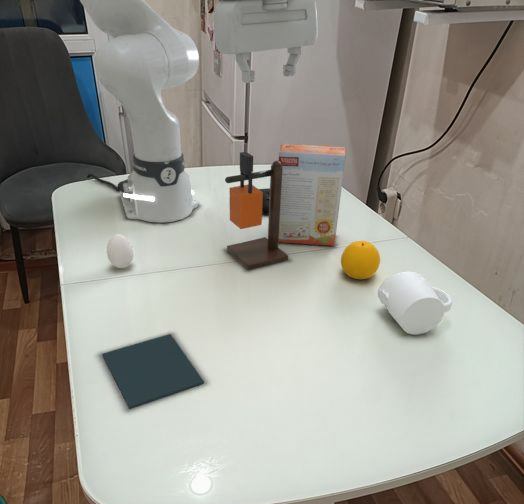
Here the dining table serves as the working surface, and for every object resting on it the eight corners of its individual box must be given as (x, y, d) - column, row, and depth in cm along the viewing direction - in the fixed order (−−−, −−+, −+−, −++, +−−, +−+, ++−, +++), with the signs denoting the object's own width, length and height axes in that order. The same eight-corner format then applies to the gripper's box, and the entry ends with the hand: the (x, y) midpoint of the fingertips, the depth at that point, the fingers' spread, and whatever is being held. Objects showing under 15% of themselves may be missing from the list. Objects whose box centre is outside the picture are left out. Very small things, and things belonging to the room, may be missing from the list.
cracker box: (334, 235, 122) (345, 145, 109) (334, 247, 118) (346, 154, 105) (276, 231, 123) (280, 141, 110) (274, 242, 118) (278, 150, 105)
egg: (111, 275, 105) (106, 242, 100) (107, 263, 108) (102, 231, 104) (137, 271, 106) (133, 238, 102) (132, 259, 110) (128, 227, 105)
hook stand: (216, 253, 114) (213, 161, 101) (266, 241, 119) (269, 152, 106) (237, 273, 107) (237, 177, 94) (288, 260, 112) (295, 167, 100)
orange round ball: (384, 275, 108) (390, 243, 104) (363, 288, 104) (369, 255, 99) (353, 261, 112) (358, 230, 108) (331, 274, 108) (336, 242, 103)
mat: (102, 355, 84) (102, 353, 84) (170, 335, 89) (170, 333, 89) (129, 408, 75) (129, 406, 75) (204, 383, 80) (204, 381, 80)
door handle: (341, 208, 129) (322, 181, 141) (265, 213, 126) (251, 185, 137) (339, 220, 132) (320, 193, 143) (264, 225, 128) (251, 197, 139)
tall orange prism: (229, 220, 108) (229, 152, 99) (250, 215, 110) (251, 148, 101) (240, 229, 104) (241, 160, 96) (261, 224, 106) (264, 156, 98)
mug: (392, 337, 91) (401, 299, 86) (374, 308, 98) (381, 271, 93) (454, 331, 93) (466, 294, 88) (432, 303, 100) (442, 267, 95)
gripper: (302, -18, 90) (300, 70, 98) (205, -15, 80) (212, 83, 88) (327, -18, 86) (323, 74, 94) (229, -15, 76) (234, 88, 84)
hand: (269, 79), depth 91 cm, fingers open, 8 cm apart
